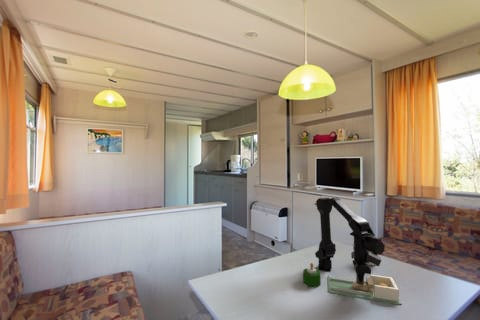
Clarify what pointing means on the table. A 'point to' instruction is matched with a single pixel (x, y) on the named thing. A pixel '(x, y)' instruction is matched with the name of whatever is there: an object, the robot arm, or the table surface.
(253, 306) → the table surface
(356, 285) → the kicker
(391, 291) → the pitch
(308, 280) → the candle
